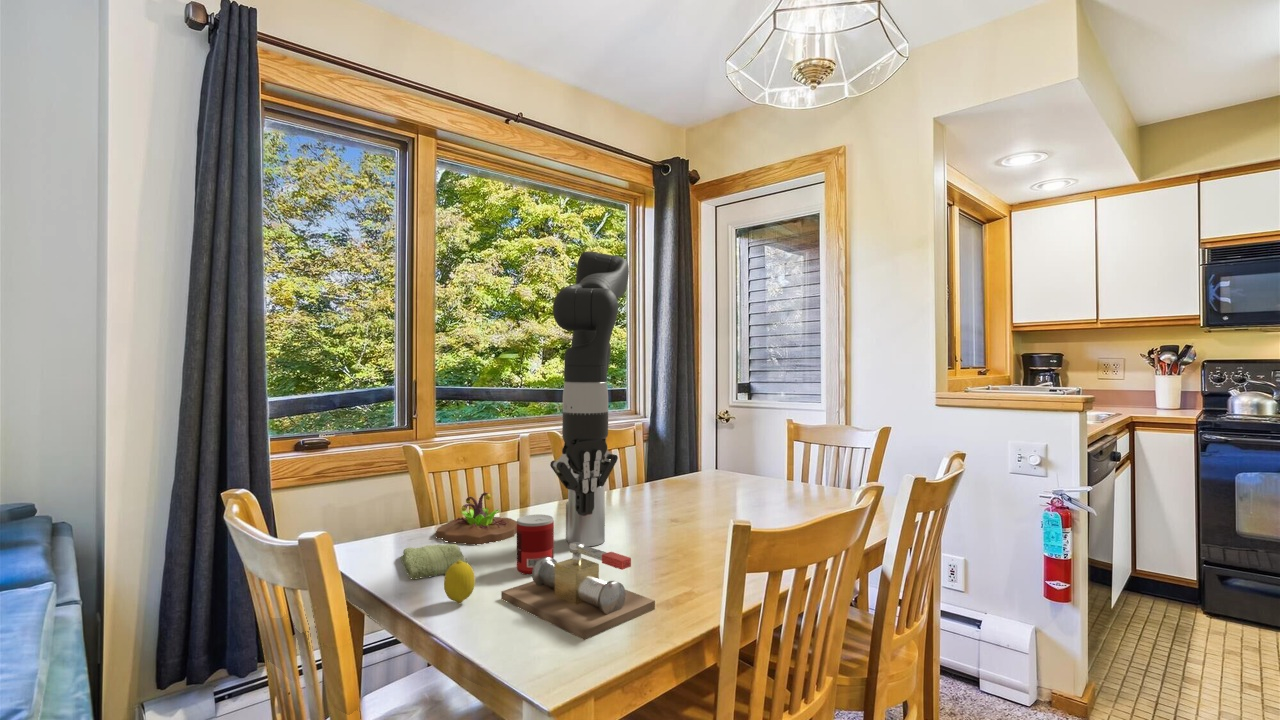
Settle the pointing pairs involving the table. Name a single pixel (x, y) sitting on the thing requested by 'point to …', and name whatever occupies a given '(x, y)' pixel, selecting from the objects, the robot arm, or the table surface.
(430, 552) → the washcloth
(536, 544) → the canned food
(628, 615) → the walnut board
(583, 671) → the table surface
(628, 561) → the valve lever
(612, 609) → the valve body
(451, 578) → the lemon
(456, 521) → the plant
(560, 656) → the table surface
